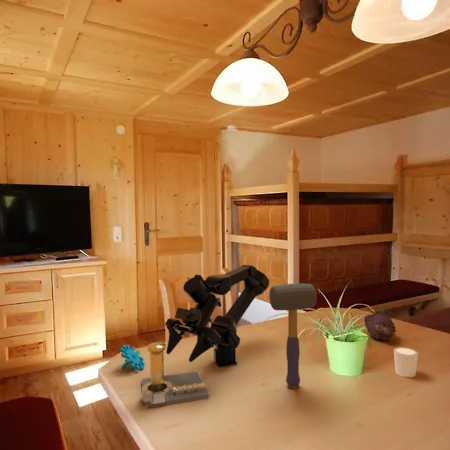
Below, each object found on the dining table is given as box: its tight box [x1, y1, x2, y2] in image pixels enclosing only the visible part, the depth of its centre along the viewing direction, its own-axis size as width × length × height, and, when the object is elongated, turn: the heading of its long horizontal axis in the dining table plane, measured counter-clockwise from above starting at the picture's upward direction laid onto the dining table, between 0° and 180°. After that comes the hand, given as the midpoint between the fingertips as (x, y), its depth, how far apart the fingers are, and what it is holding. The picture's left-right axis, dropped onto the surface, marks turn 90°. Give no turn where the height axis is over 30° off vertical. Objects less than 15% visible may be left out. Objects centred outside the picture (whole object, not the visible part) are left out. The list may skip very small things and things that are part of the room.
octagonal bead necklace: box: [141, 375, 207, 404], centre depth 106 cm, size 17×15×2 cm
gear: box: [119, 344, 146, 371], centre depth 122 cm, size 11×6×10 cm
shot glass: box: [393, 347, 419, 378], centre depth 116 cm, size 7×7×7 cm
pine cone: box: [363, 312, 397, 341], centre depth 147 cm, size 18×10×10 cm, turn 10°
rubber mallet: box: [268, 283, 318, 388], centre depth 108 cm, size 12×8×30 cm, turn 103°
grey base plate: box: [141, 371, 210, 409], centre depth 107 cm, size 17×15×1 cm
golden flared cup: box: [147, 341, 167, 392], centre depth 101 cm, size 5×5×14 cm
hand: (178, 357), depth 107 cm, fingers open, 9 cm apart
